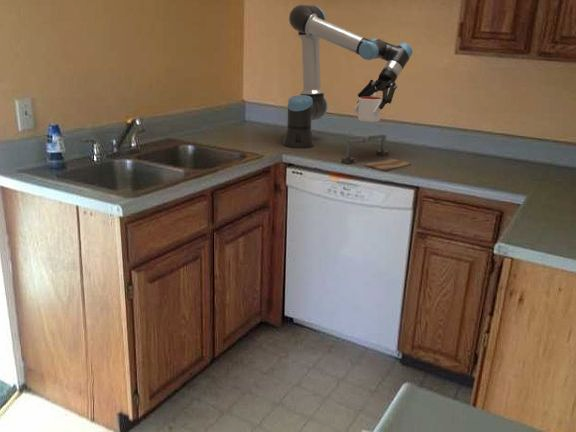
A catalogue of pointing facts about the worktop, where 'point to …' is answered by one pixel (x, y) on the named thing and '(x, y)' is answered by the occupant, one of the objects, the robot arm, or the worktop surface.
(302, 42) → the robot arm
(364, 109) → the cup
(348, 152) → the jointed metal bar
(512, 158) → the worktop surface
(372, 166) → the walnut board
